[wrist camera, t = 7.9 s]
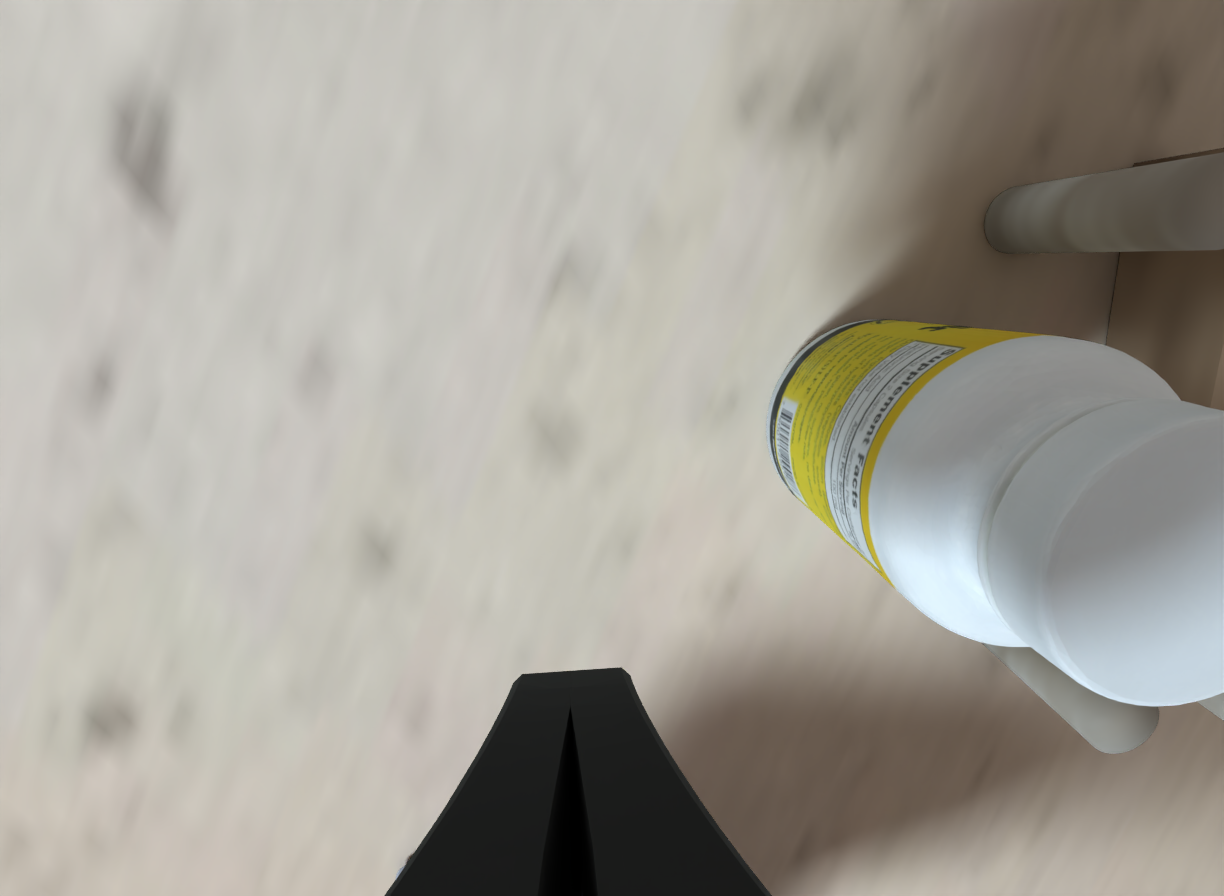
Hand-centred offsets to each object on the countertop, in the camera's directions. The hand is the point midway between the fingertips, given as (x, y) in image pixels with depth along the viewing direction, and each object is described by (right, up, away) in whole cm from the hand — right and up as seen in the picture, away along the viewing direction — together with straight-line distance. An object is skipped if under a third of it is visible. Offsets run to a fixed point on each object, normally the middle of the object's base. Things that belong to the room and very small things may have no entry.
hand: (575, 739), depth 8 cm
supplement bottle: (+7, +4, +10) cm, 13 cm away
